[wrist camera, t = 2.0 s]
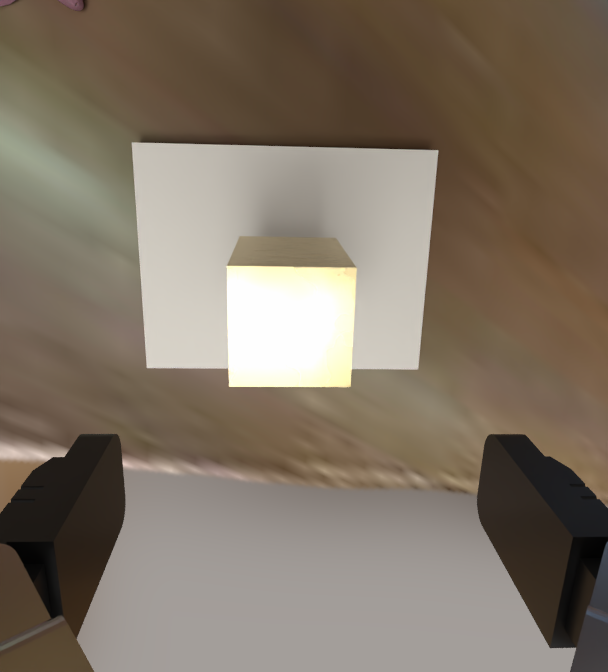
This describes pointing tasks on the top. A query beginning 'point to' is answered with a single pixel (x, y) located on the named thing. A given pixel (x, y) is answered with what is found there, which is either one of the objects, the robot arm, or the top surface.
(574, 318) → the top surface
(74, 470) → the robot arm
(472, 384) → the top surface
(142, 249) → the base board
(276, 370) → the gold rectangular block
